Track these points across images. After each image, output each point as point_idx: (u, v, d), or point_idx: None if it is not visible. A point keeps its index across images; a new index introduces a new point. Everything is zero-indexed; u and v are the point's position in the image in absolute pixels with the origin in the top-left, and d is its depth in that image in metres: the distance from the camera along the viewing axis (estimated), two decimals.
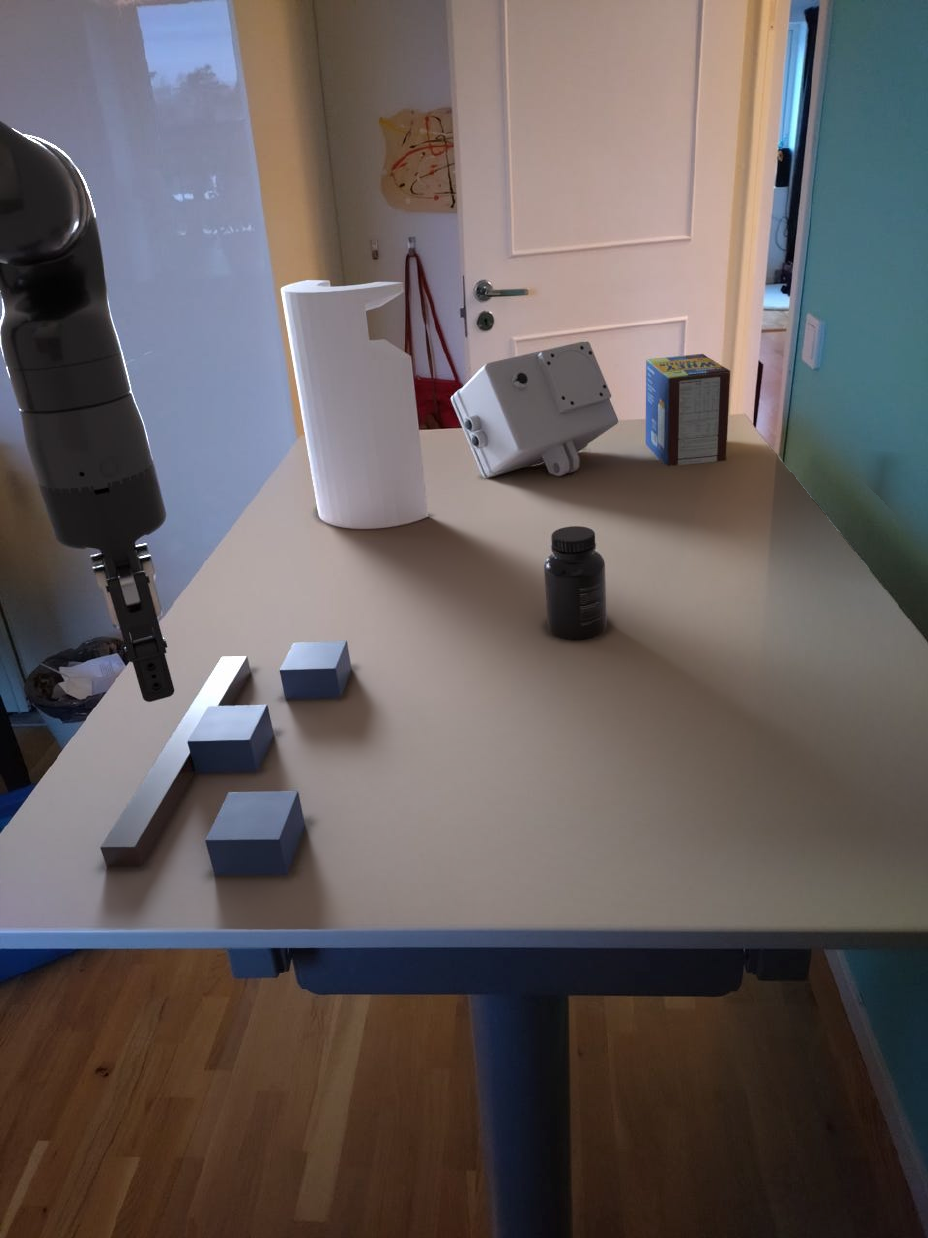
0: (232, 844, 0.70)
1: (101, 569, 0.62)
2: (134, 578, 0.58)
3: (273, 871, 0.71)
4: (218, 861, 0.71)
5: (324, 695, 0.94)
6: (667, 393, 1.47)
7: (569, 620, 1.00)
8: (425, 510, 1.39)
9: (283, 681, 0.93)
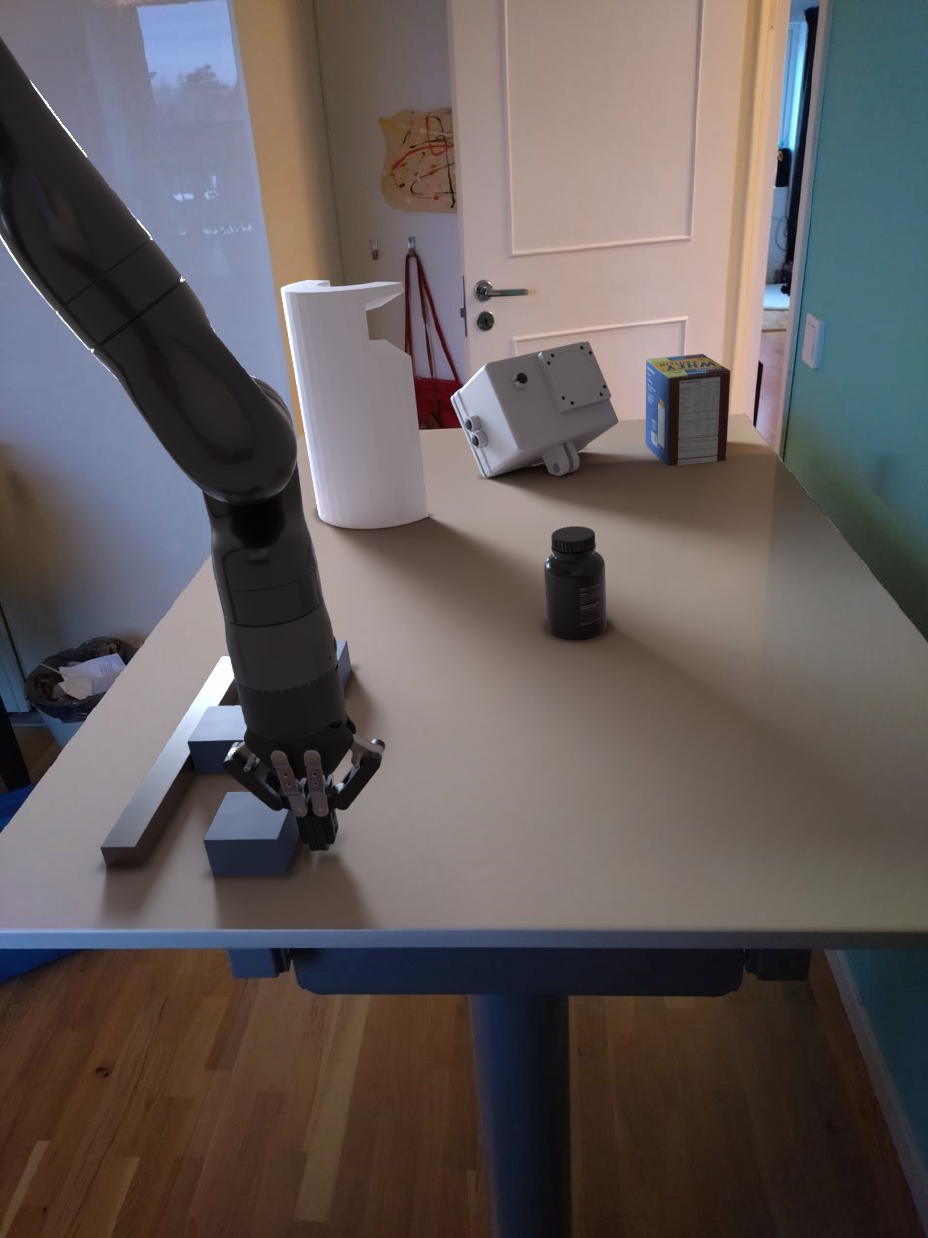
0: (231, 844, 0.70)
1: (320, 751, 0.67)
2: (383, 750, 0.69)
3: (271, 871, 0.71)
4: (216, 861, 0.71)
5: None
6: (667, 393, 1.47)
7: (569, 620, 1.00)
8: (425, 510, 1.39)
9: None
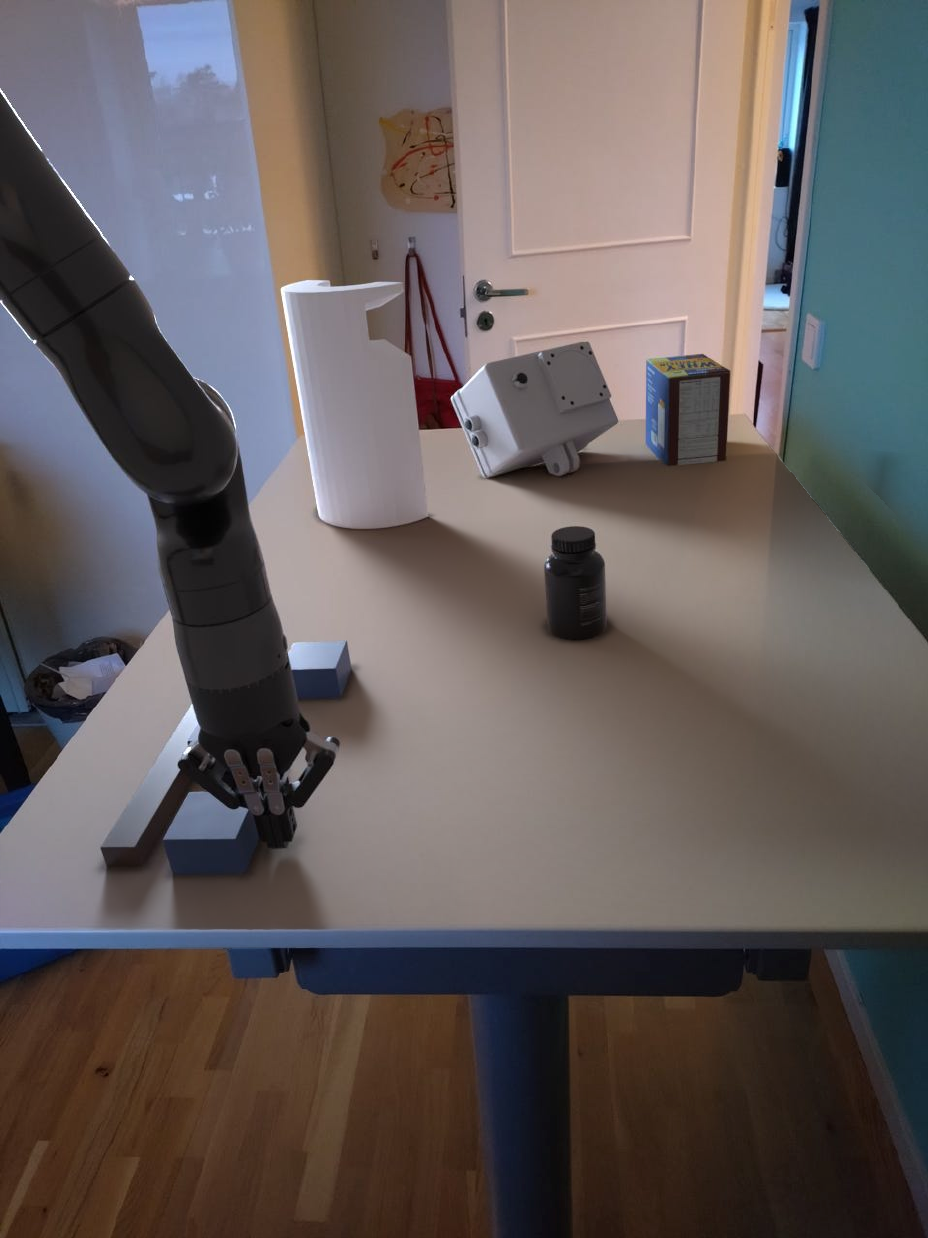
0: (190, 844, 0.70)
1: (273, 749, 0.67)
2: (337, 747, 0.69)
3: (230, 870, 0.71)
4: (176, 860, 0.71)
5: (324, 695, 0.94)
6: (667, 393, 1.47)
7: (569, 620, 1.00)
8: (425, 510, 1.39)
9: None
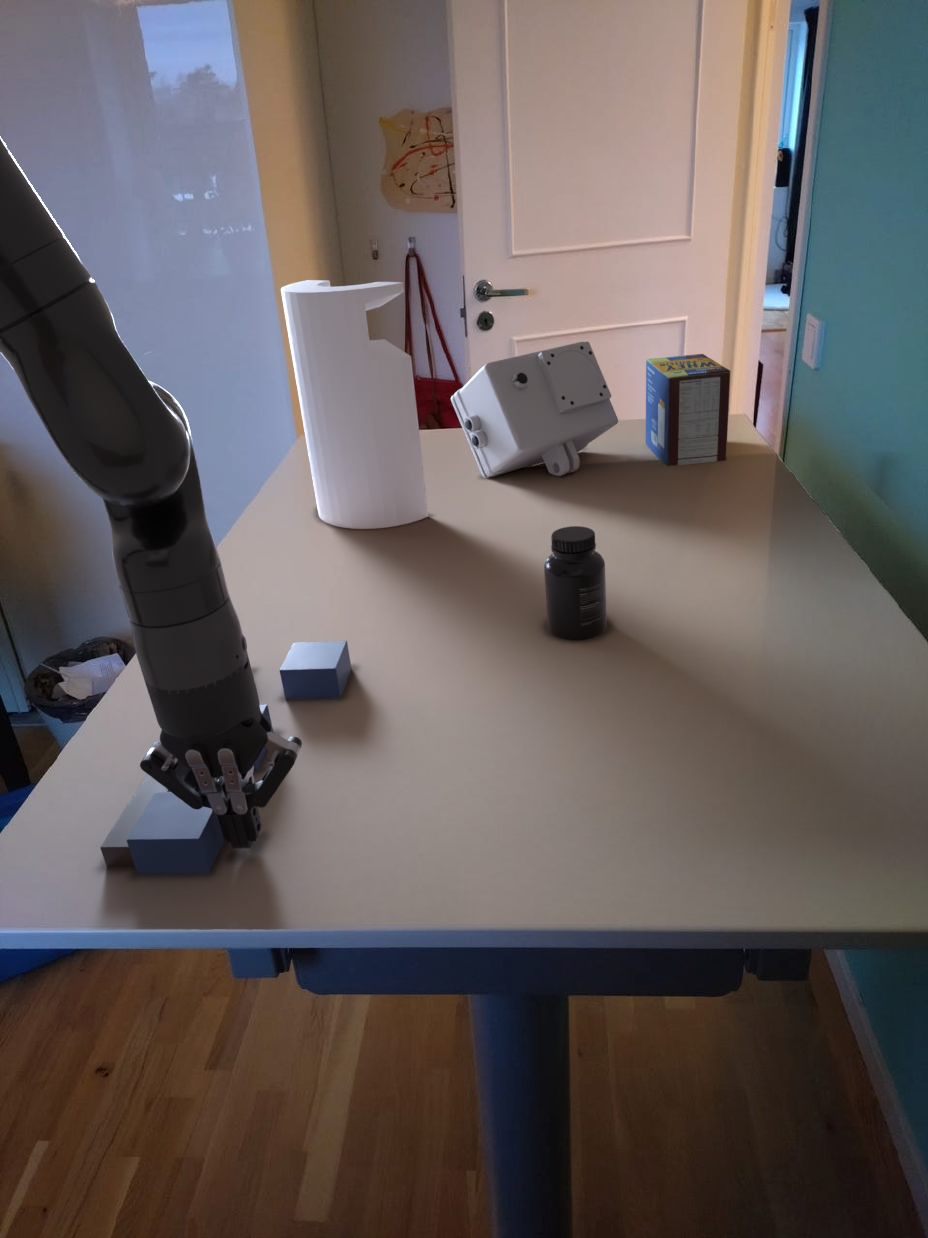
0: (154, 844, 0.71)
1: (234, 749, 0.67)
2: (299, 747, 0.69)
3: (194, 870, 0.72)
4: (140, 860, 0.71)
5: (324, 695, 0.94)
6: (667, 393, 1.47)
7: (569, 620, 1.00)
8: (425, 510, 1.39)
9: (283, 681, 0.93)
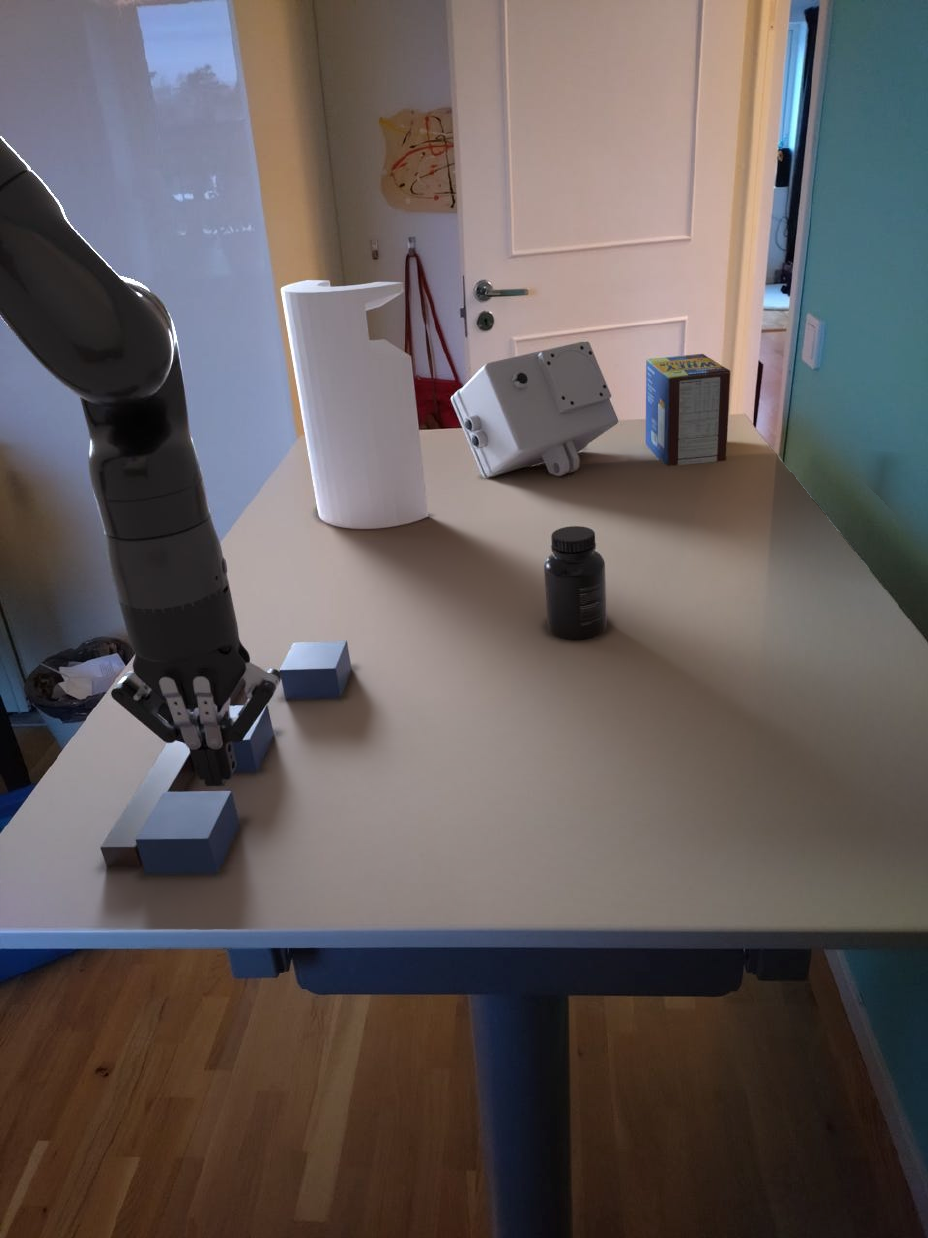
0: (162, 844, 0.70)
1: (210, 678, 0.65)
2: (278, 679, 0.67)
3: (203, 870, 0.71)
4: (149, 860, 0.71)
5: (324, 695, 0.94)
6: (667, 393, 1.47)
7: (569, 620, 1.00)
8: (425, 510, 1.39)
9: (283, 681, 0.93)
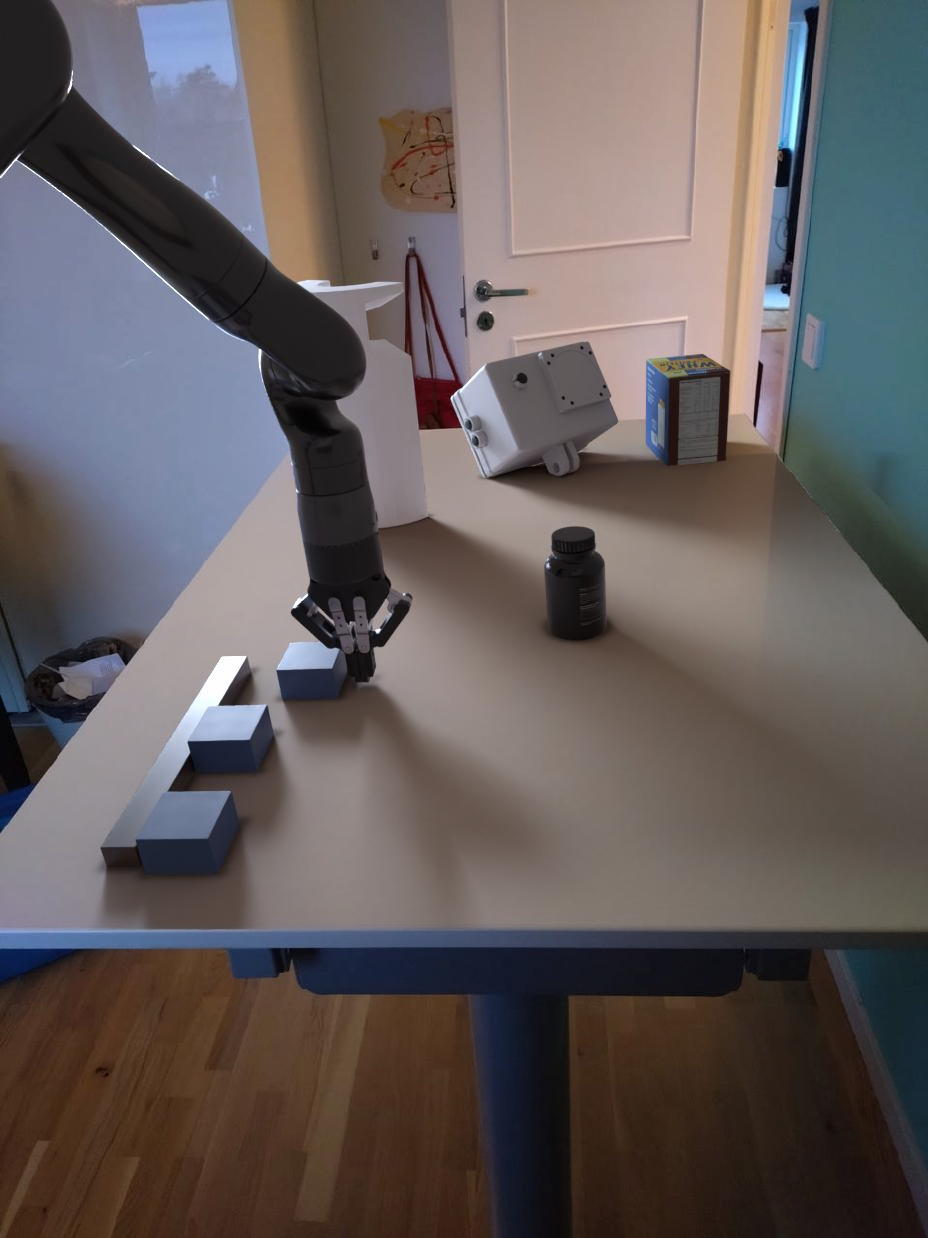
0: (162, 844, 0.70)
1: (365, 598, 0.90)
2: (411, 600, 0.92)
3: (203, 870, 0.71)
4: (149, 860, 0.71)
5: (321, 695, 0.94)
6: (667, 393, 1.47)
7: (569, 620, 1.00)
8: (425, 510, 1.39)
9: (280, 681, 0.93)
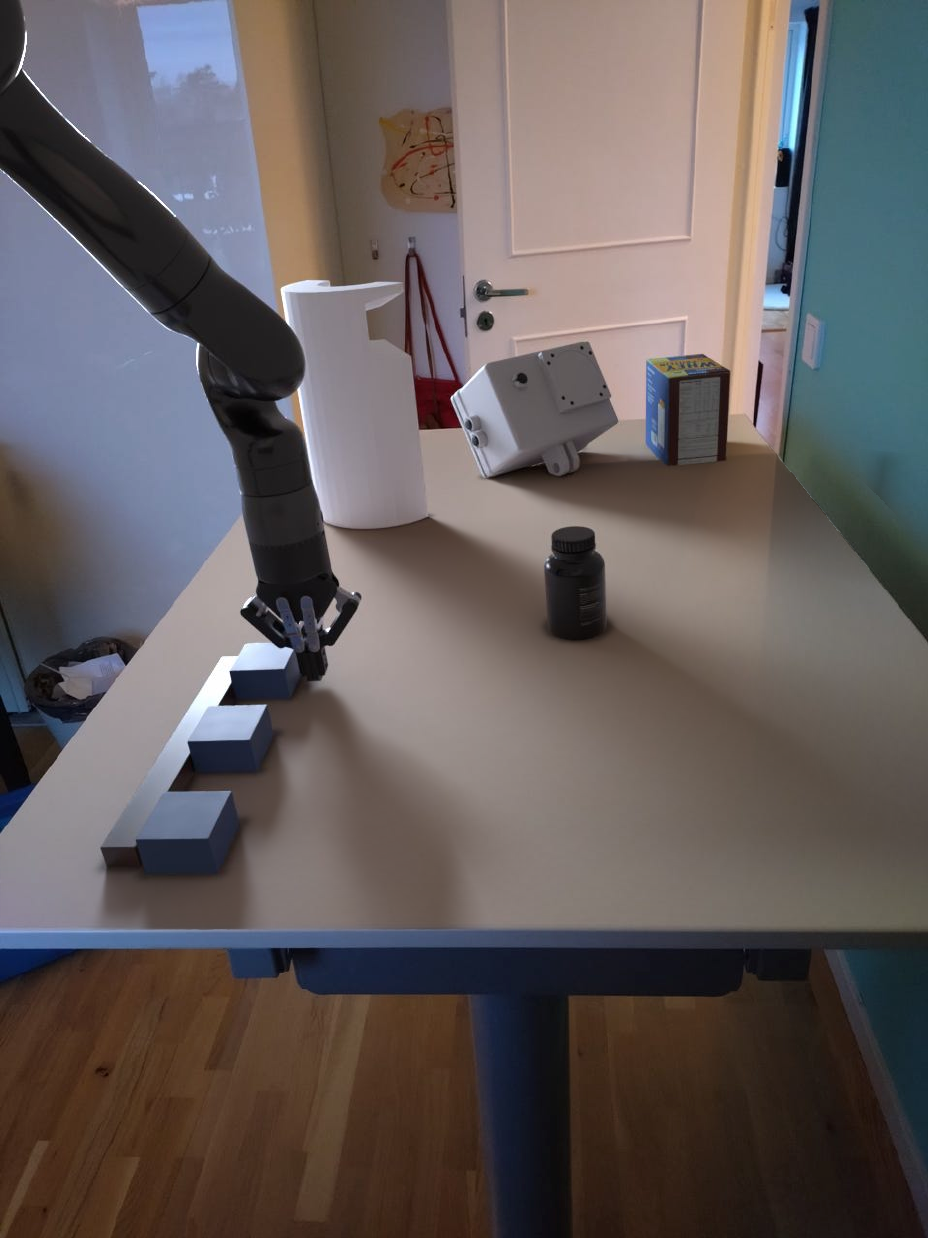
0: (162, 844, 0.70)
1: (312, 597, 0.90)
2: (359, 599, 0.92)
3: (203, 870, 0.71)
4: (149, 860, 0.71)
5: (274, 695, 0.95)
6: (667, 393, 1.47)
7: (569, 620, 1.00)
8: (425, 510, 1.39)
9: (233, 682, 0.94)
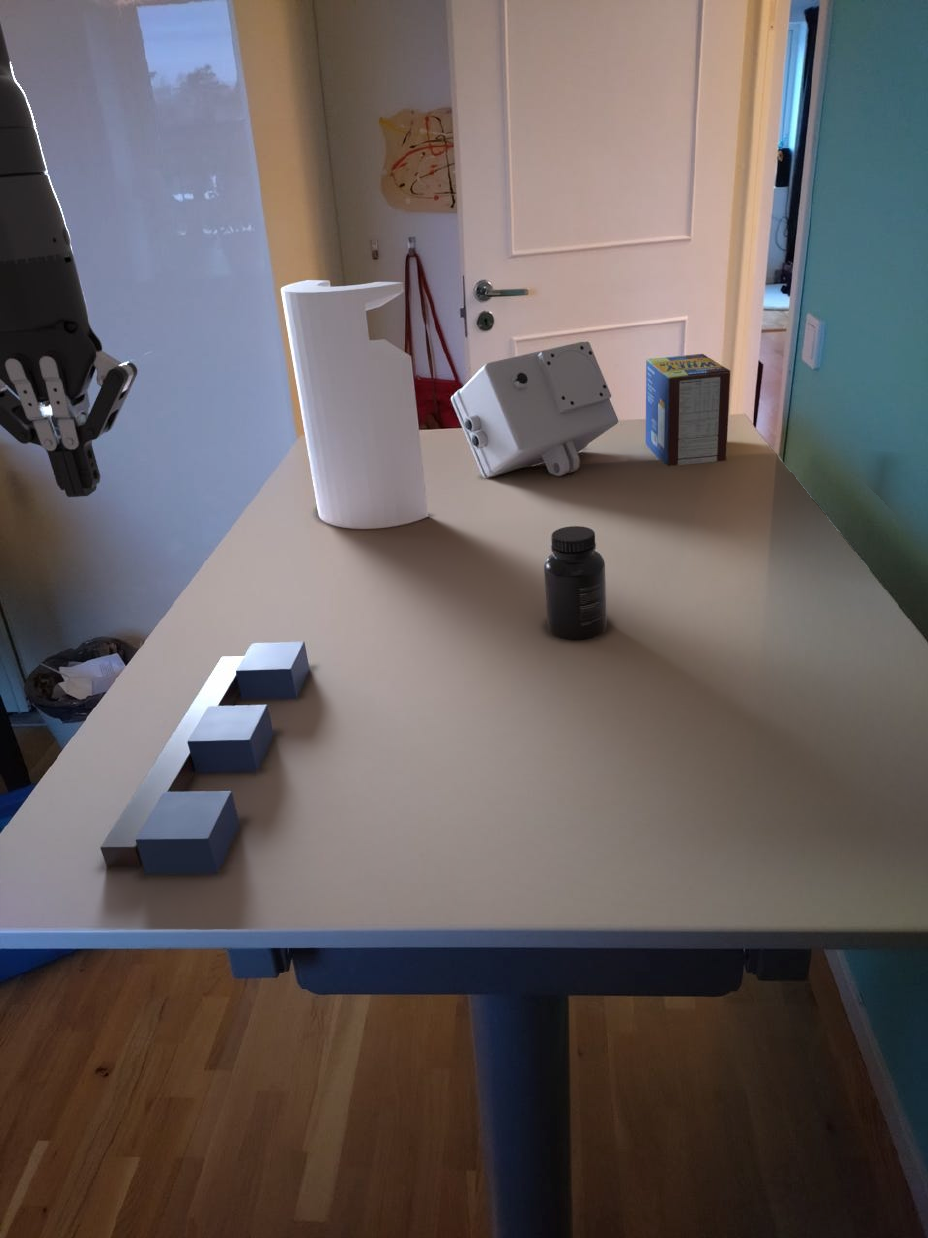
0: (162, 844, 0.70)
1: (58, 360, 0.63)
2: (132, 370, 0.65)
3: (203, 870, 0.71)
4: (149, 860, 0.71)
5: (280, 695, 0.95)
6: (667, 393, 1.47)
7: (569, 620, 1.00)
8: (425, 510, 1.39)
9: (239, 681, 0.94)
